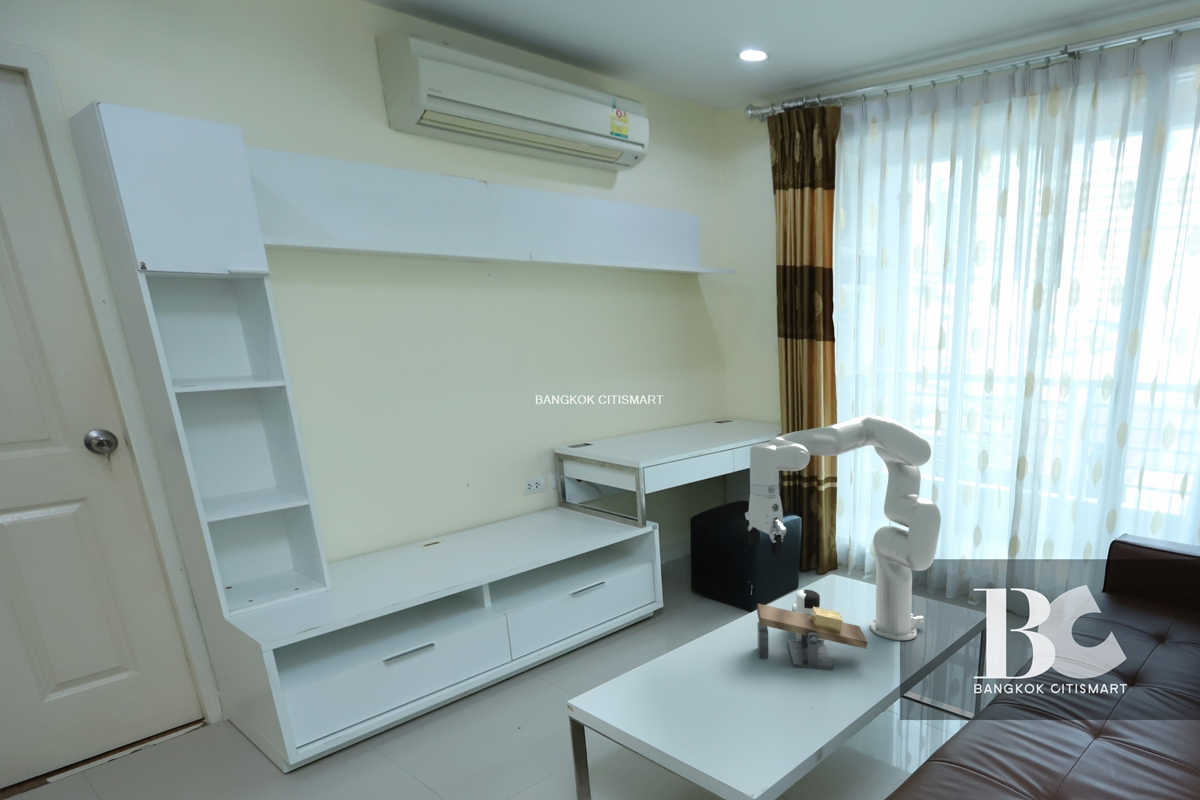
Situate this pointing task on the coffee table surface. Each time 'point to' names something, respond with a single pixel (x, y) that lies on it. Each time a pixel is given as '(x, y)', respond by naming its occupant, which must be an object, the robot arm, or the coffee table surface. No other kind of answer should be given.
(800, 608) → the container
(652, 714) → the coffee table surface
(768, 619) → the beam
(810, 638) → the stand
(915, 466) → the robot arm
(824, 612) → the slider
